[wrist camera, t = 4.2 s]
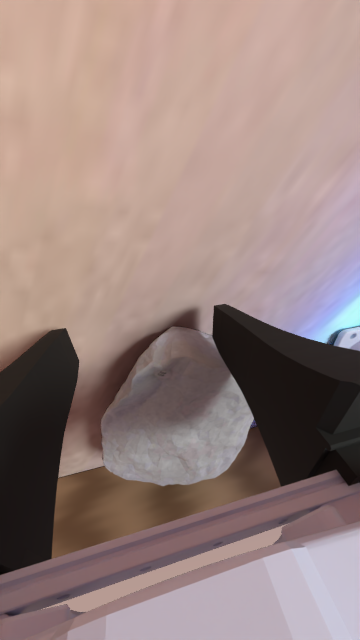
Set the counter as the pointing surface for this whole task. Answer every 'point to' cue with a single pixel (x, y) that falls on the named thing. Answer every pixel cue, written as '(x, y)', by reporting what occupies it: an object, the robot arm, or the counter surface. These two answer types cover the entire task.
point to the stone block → (176, 414)
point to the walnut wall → (150, 499)
